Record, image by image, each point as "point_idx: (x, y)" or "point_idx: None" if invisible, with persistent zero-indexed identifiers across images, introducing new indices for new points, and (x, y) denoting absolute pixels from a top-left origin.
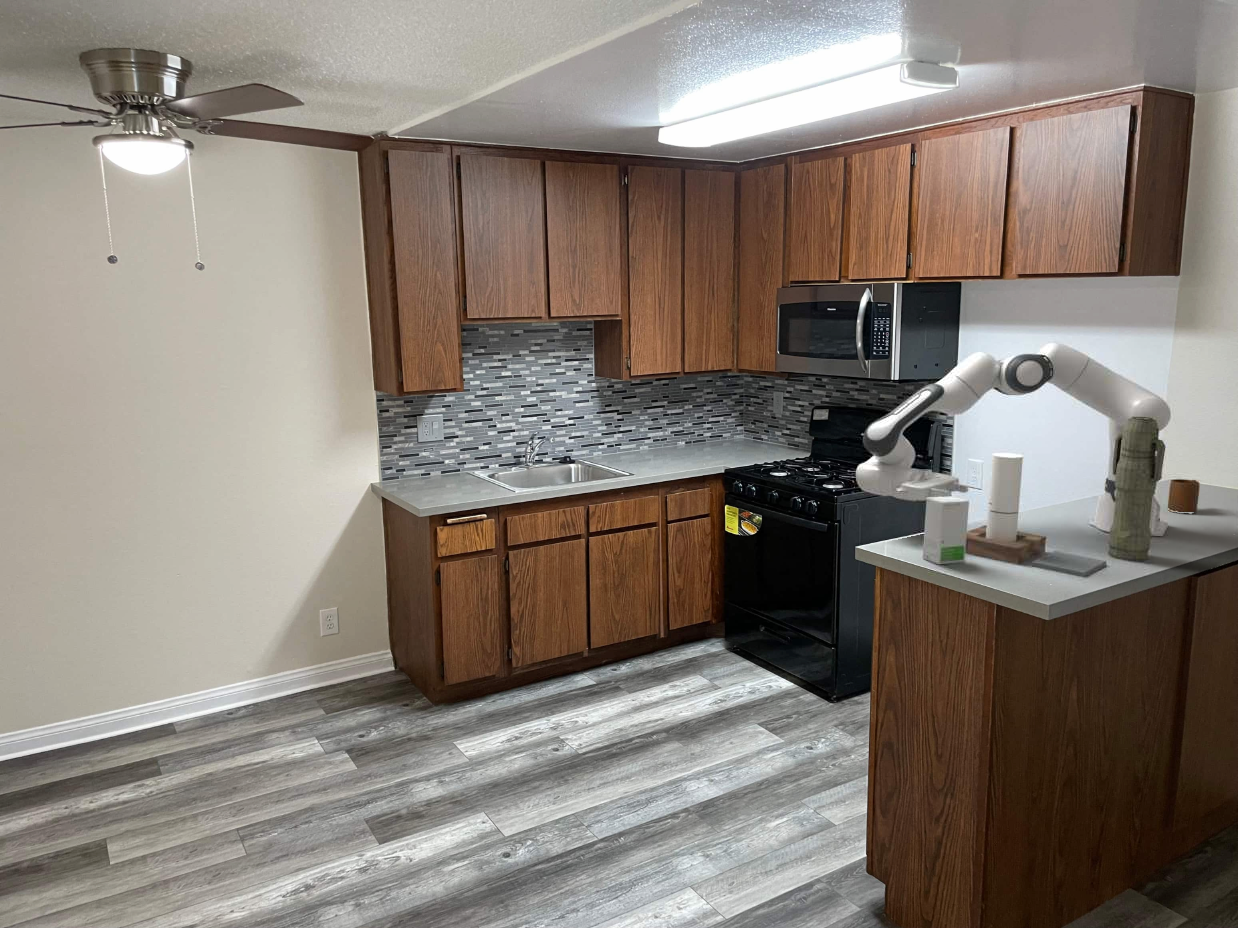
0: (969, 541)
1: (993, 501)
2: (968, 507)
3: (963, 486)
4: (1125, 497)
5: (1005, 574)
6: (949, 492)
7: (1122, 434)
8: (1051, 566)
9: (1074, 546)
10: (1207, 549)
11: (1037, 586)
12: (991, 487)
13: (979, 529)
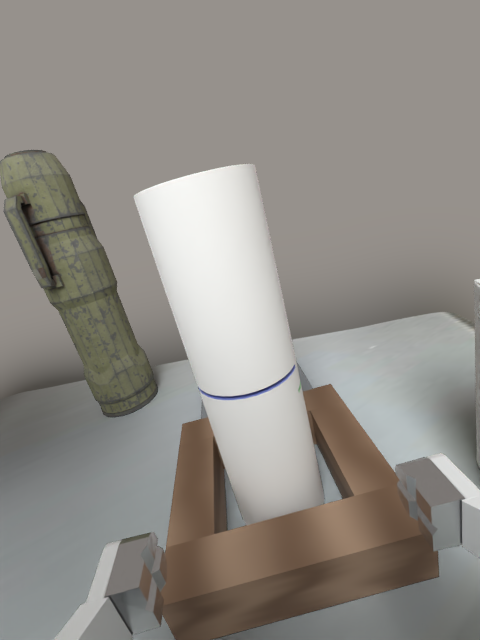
0: None
1: (293, 352)
2: (475, 303)
3: (146, 548)
4: (115, 300)
5: (417, 382)
6: (421, 459)
7: (24, 193)
8: (305, 376)
9: (105, 459)
10: (34, 395)
11: (402, 344)
12: (278, 312)
13: (251, 559)
